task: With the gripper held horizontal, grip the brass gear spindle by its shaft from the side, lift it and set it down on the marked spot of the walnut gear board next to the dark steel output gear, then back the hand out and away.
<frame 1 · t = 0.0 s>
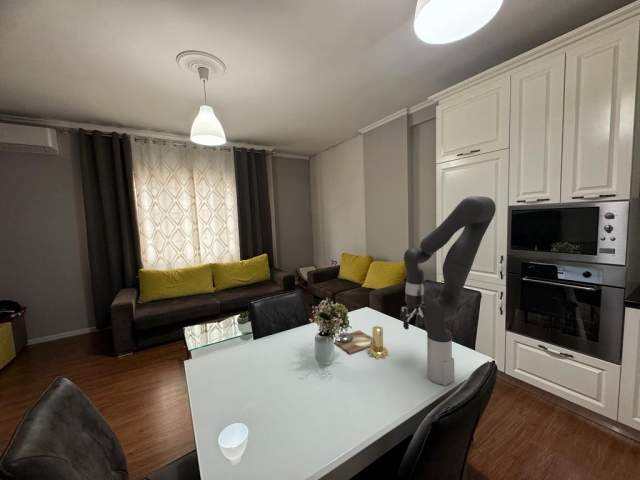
hand: (412, 326, 117), 17 cm above the table, tool pointing down, fingers open, 8 cm apart
output gear: (343, 341, 141), resting on gear board
brass gear spindle: (378, 354, 127), on the table
gear board: (355, 342, 140), on the table
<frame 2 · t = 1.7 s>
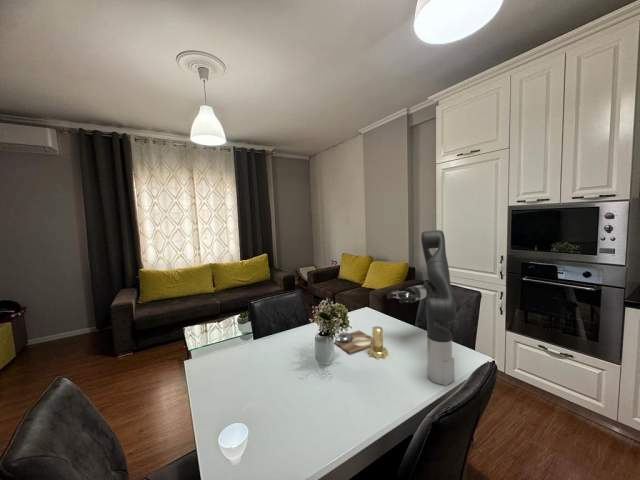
hand: (393, 298, 130), 26 cm above the table, tool horizontal, fingers open, 8 cm apart
nothing on the table moved.
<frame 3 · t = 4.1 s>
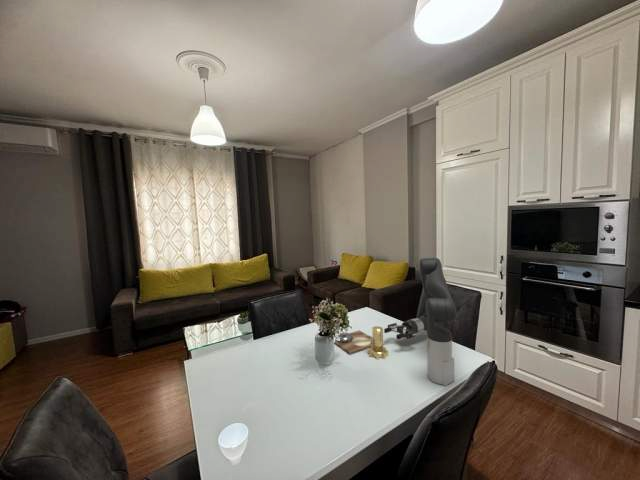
hand: (390, 334, 130), 8 cm above the table, tool horizontal, fingers open, 8 cm apart
nothing on the table moved.
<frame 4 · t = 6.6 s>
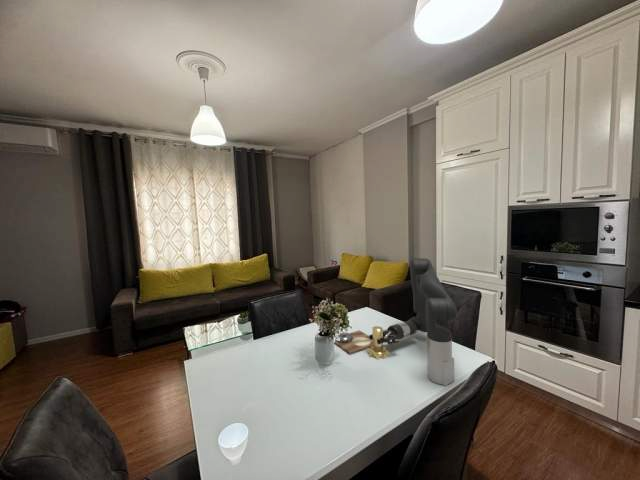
hand: (373, 339, 125), 8 cm above the table, tool horizontal, fingers closed on brass gear spindle, 5 cm apart
brass gear spindle: (378, 354, 127), on the table, touching gripper
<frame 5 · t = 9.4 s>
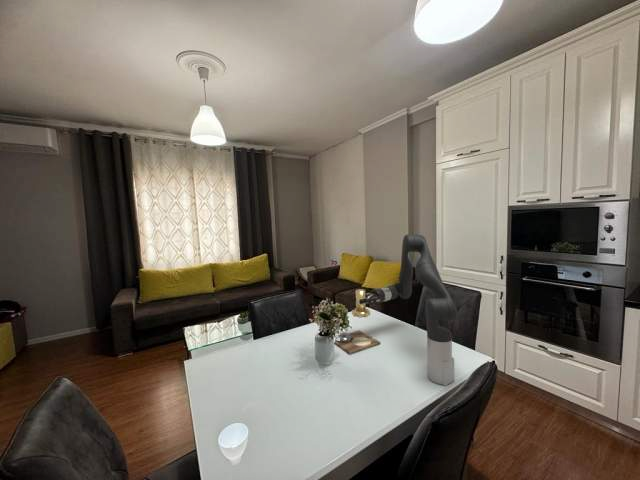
hand: (356, 300, 135), 24 cm above the table, tool horizontal, fingers closed on brass gear spindle, 5 cm apart
brass gear spindle: (361, 314, 137), point 16 cm above the table, touching gripper
when the fingers open (11 cm above the table, at t = 12.4 s): brass gear spindle drops 1 cm, resting on gear board.
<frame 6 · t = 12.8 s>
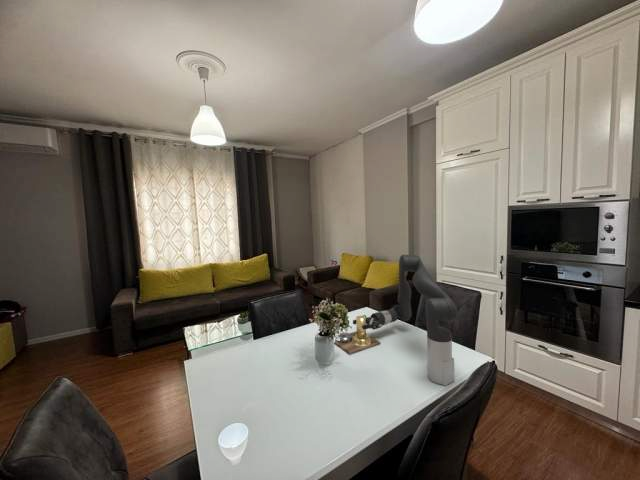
hand: (358, 325, 136), 11 cm above the table, tool horizontal, fingers open, 8 cm apart
brass gear spindle: (361, 341, 138), point 1 cm above the table, touching gear board
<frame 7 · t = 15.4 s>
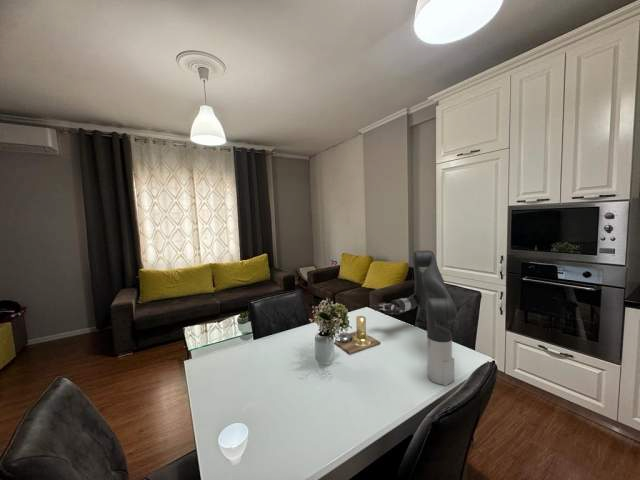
hand: (379, 310, 141), 16 cm above the table, tool horizontal, fingers open, 8 cm apart
nothing on the table moved.
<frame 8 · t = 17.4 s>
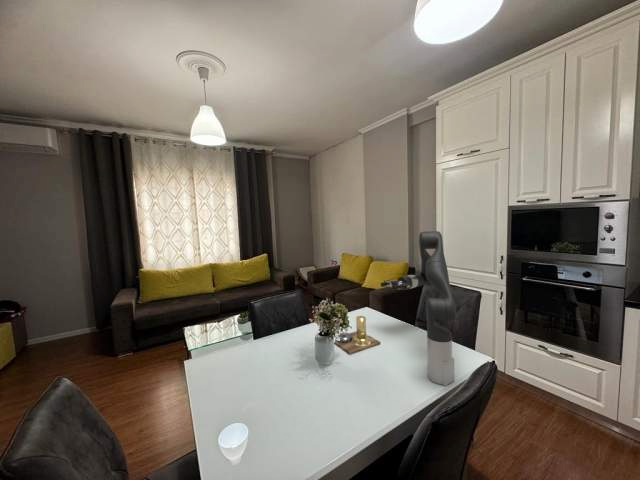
hand: (386, 286, 139), 30 cm above the table, tool horizontal, fingers open, 8 cm apart
nothing on the table moved.
at the end: brass gear spindle 0.1 cm from the target spot on the gear board, point 1.3 cm above the gear board's base; brass gear spindle tilted 0°; the gripper is holding nothing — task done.
